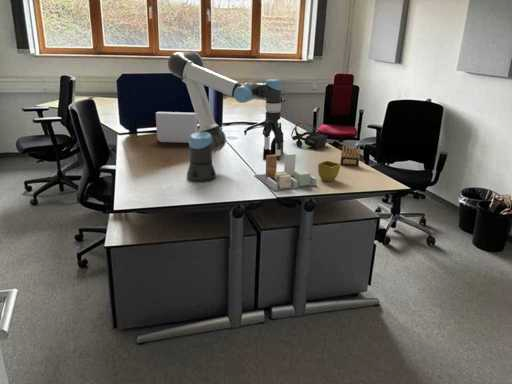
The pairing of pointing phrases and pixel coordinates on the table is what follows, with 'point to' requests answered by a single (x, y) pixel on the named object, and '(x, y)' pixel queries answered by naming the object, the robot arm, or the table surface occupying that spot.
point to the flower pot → (328, 170)
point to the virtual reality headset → (310, 138)
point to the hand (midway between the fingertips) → (272, 152)
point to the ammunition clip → (350, 157)
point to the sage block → (300, 176)
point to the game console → (175, 126)
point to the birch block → (280, 178)
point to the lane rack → (274, 187)
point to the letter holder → (272, 149)
